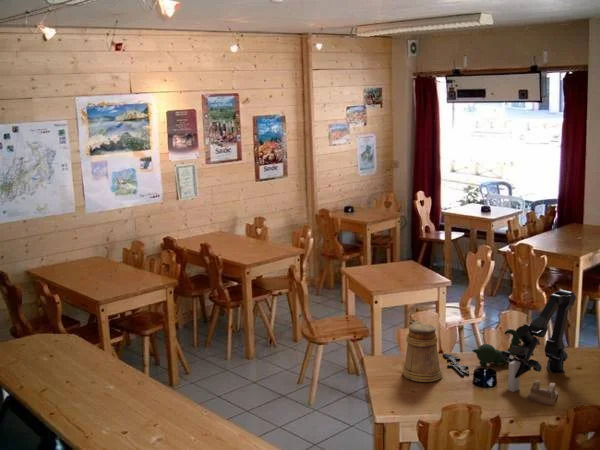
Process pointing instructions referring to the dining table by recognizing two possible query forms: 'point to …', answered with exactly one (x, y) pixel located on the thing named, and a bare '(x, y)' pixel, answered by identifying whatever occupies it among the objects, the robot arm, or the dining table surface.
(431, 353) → the tankard
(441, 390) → the dining table surface
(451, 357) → the nameplate
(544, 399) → the clay rack
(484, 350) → the toy figurine
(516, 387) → the clay bar
